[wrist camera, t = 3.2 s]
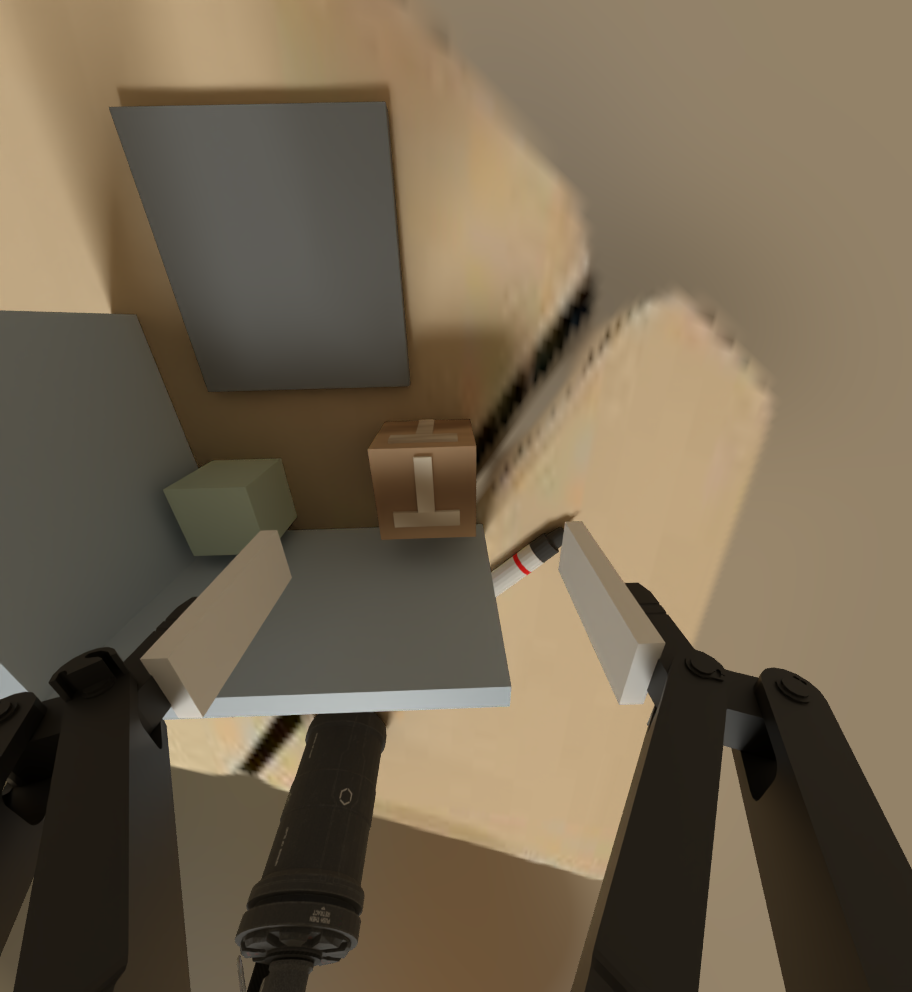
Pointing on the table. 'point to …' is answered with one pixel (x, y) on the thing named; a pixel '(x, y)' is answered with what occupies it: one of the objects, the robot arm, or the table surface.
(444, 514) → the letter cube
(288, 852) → the grenade
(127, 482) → the screen
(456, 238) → the table surface
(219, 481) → the plain cube
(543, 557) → the marker
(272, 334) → the mat
